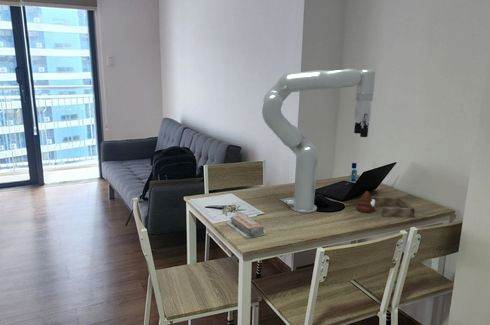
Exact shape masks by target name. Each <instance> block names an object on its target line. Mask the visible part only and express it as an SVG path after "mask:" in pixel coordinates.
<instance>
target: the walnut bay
mask: <svg viewBox="0 0 490 325" xmlns="http://www.w3.org/2000/svg"><path fill="white" fill-rule="evenodd" d="M371 199H374V200H375V201H376V203H375V206H381V214H380V216H381V217H387V218H388V217H389V218H412V219H413V218H414V215H415V208H414V207H412V205H411V204H409V203H408V202H407V201H406V200H405V199H404V198H402V197H398V196H397V197H396V196H395V197H393V196H391V197H390V196H371Z"/></svg>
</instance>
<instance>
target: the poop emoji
mask: <svg viewBox="0 0 490 325" xmlns="http://www.w3.org/2000/svg"><path fill="white" fill-rule="evenodd" d="M375 203H376V201H375V200H374V199H372V196H371V194H370V192H369V191H368V190H366V191H365V192H364V193H363V194H362V195H361V196H360V198H359V199H358V201H357V203H356V206H355V207H356V210H357V211H358V212H360V213H365V214H370V213H372V212H373V211H374V208H375V206H376V205H375Z"/></svg>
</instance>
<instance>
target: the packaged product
mask: <svg viewBox="0 0 490 325" xmlns="http://www.w3.org/2000/svg"><path fill="white" fill-rule="evenodd" d="M225 223H226V225H227V226H229V227H231V229H233V230H234V231H235V232H237V233H238V234H239V235H241V236H242V237H243V238H244V239H245V240H249V239H255V238H258V237H264V236H267V235H268V232H267V231H266V230H264V226H263V225H262V224H261V223H259V222H258V221H256V220H254V219H253V218H251V217H250V216H248V215H247V214H246V213H245V212H244V213H242V212H239V213H237V214H234V215H233V216H231V218H230V221H229V220H228V221H225Z"/></svg>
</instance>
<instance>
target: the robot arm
mask: <svg viewBox="0 0 490 325" xmlns="http://www.w3.org/2000/svg"><path fill="white" fill-rule="evenodd" d="M375 79H376V71H375V70H373V69H369V68H368V69H356V68H344V69H338V70H309V71H307V70H306V71H298V72H286V73H284V74H283V75H281V77H280V78H279V79H278V80H277V81H276V83H274V85H273V86H272V87H271V88H270V89H269V90H268V91H267V92H266V93H265V95H264V97H263V105H262V108H261V114H262V118H263V121H264V123H265V124H266V126H267V127H268V128H269V129H270V130H271V131H272V132H273V134H275V135H276V137H277V138H278V139H279V140H280V141H281V142H282V144H283V145H284V146H286V147H288V149H289V150H291V151H292V153H293V154H294V155H295V156H296V166H295V175H294V176H295V178H294V194H293V197H292V198H291V199H287V198H285V199H284V200H283V202H284V204H287V205H290V209H291V210H292V211H295V212H297V213H298V212H299V213H303V214H304V213H305V214H307V213H314V212H316V211H317V209H318V207H317V205H315V194H316V180H317V167H318V162H319V152H318V150H317V148H316V146H315V145H314V144H313V143H312V142H311V140H309V138H307V137H306V136H305V135H304V133H303V132H301V130H300V129H299V128H298V127H297V126H296V125H294V124H292V123H291V122H290V121H289V120H288V119H287V117H286V116H285V115H284V114H283V113H282V107H283V104H284V103H283V102H284V101H285V100H286V99H287V98H288V97H289V96H290V94H291V93H297V92H307V91H321V90H329V89H340V88H351V87H355V88H356V89H355V99H354V100H355V104H354V105H355V106H354V112H353V122H354V128H353V129H354V130H353V133H354V134H359V137H360V138H368V136H369V135H368V134H369V125H370V120H371V112H372V110H371V107H372V102H374V99H373V98H374V91H375V90H374V88H375V82H376V81H375Z"/></svg>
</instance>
